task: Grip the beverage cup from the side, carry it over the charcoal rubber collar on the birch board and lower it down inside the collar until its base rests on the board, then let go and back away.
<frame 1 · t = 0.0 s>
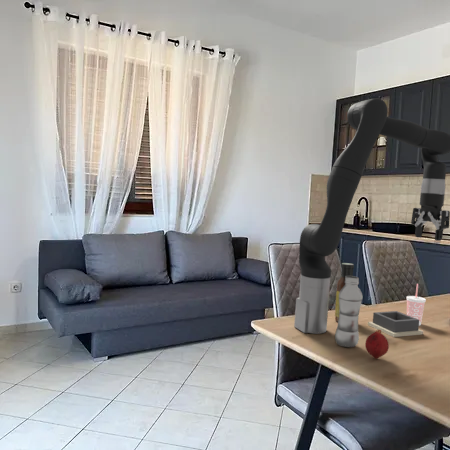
hand: (427, 238, 152), 29 cm above the table, tool pointing down, fingers open, 8 cm apart
onion: (375, 359, 116), on the table
plastic bottle: (346, 346, 125), on the table
collar: (394, 329, 143), on the table
beverage cup: (413, 324, 151), on the table
sauce bottle: (343, 322, 149), on the table
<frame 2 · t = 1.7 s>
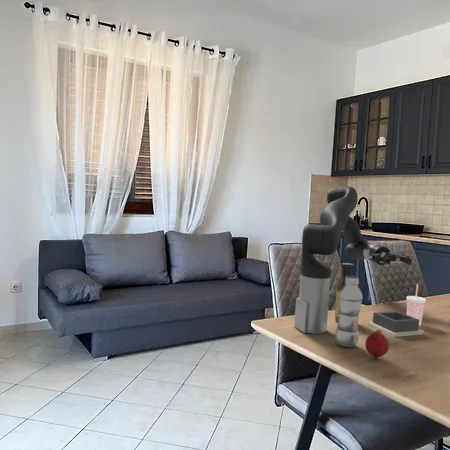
hand: (400, 261, 160), 20 cm above the table, tool horizontal, fingers open, 8 cm apart
nothing on the table moved.
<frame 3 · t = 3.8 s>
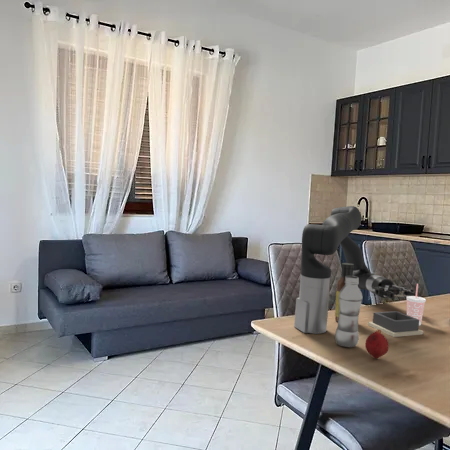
hand: (404, 296, 157), 8 cm above the table, tool horizontal, fingers open, 8 cm apart
nothing on the table moved.
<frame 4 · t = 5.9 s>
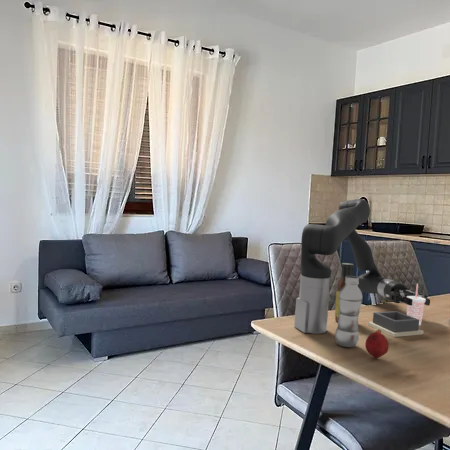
hand: (420, 302, 148), 8 cm above the table, tool horizontal, fingers closed on beverage cup, 6 cm apart
beverage cup: (413, 324, 151), on the table, touching gripper
everything else where it was.
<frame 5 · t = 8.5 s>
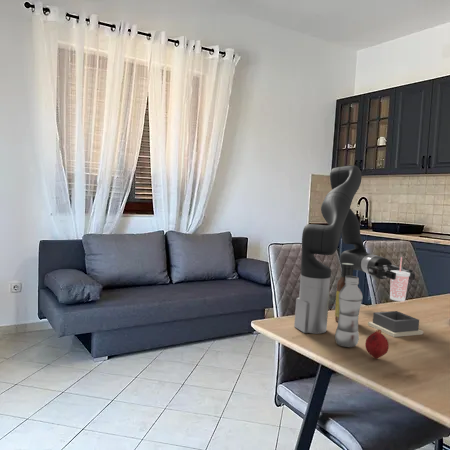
hand: (404, 276, 139), 18 cm above the table, tool horizontal, fingers closed on beverage cup, 6 cm apart
beverage cup: (397, 299, 142), point 10 cm above the table, touching gripper
everything else where it was.
when the fingers open (10 cm above the table, at t = 11.0 s): beverage cup stays where it is, resting on collar.
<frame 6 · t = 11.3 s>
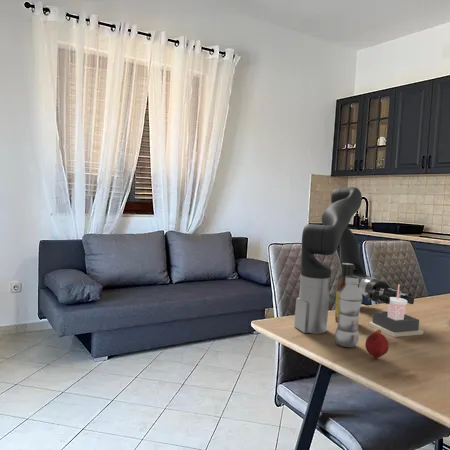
hand: (401, 301, 140), 10 cm above the table, tool horizontal, fingers open, 8 cm apart
beverage cup: (394, 326, 143), point 1 cm above the table, touching collar
everything else where it was.
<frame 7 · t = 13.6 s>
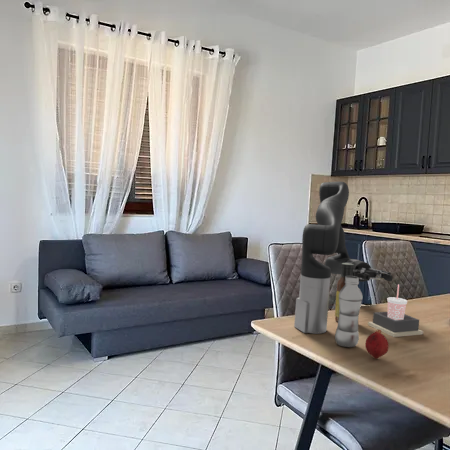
hand: (380, 278, 152), 15 cm above the table, tool horizontal, fingers open, 8 cm apart
nothing on the table moved.
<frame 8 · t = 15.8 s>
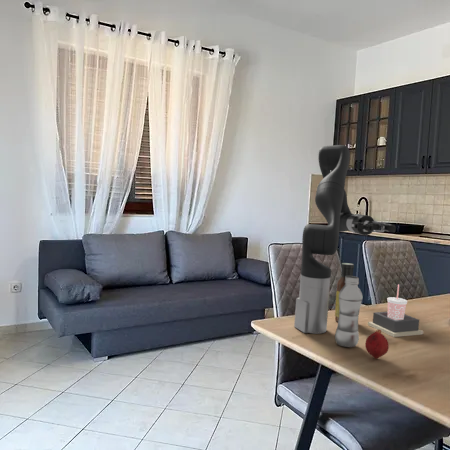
hand: (383, 228, 151), 32 cm above the table, tool horizontal, fingers open, 8 cm apart
nothing on the table moved.
at the end: beverage cup 0.2 cm off-centre on the collar, point 0.8 cm above the collar's base; beverage cup tilted 0°; the gripper is holding nothing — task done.
